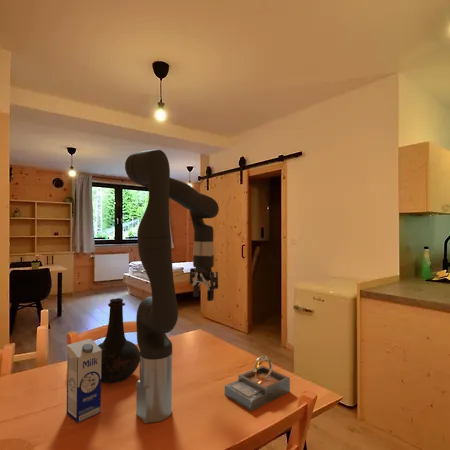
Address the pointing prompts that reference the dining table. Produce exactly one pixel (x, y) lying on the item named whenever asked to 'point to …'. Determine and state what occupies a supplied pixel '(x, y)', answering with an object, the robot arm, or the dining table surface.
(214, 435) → the dining table surface
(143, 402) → the robot arm
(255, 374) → the ring
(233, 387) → the grey tray
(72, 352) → the milk carton
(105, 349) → the glass bottle
